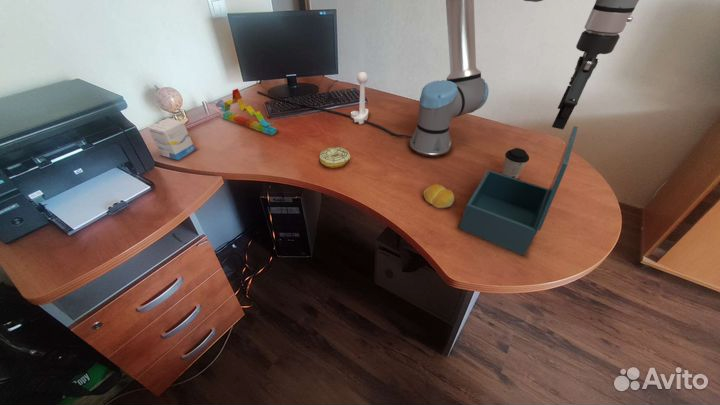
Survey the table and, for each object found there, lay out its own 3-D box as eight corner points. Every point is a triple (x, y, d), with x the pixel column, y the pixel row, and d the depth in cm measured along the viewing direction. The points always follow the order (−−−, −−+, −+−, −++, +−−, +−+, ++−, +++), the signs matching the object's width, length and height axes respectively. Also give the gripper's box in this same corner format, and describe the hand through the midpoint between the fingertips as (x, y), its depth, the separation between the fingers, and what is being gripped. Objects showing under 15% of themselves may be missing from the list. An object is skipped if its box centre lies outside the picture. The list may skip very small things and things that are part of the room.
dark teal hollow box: (459, 228, 80) (466, 204, 75) (480, 193, 92) (488, 169, 86) (523, 255, 73) (537, 231, 68) (537, 213, 85) (550, 189, 79)
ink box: (196, 149, 113) (184, 121, 105) (177, 160, 107) (163, 131, 99) (180, 145, 116) (167, 116, 108) (161, 155, 110) (146, 126, 102)
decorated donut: (356, 160, 106) (355, 151, 104) (334, 173, 100) (333, 164, 98) (335, 150, 111) (335, 141, 109) (314, 162, 106) (313, 153, 103)
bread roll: (442, 213, 85) (445, 203, 82) (418, 198, 90) (420, 188, 88) (459, 201, 89) (462, 190, 86) (435, 187, 94) (438, 177, 92)
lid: (562, 163, 57) (567, 164, 56) (574, 126, 68) (578, 126, 68) (536, 229, 67) (540, 230, 67) (549, 187, 79) (553, 188, 78)
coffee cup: (517, 187, 94) (529, 160, 87) (494, 180, 97) (504, 154, 90) (521, 176, 98) (532, 150, 92) (499, 170, 101) (509, 144, 95)
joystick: (363, 124, 128) (363, 76, 114) (347, 122, 129) (345, 75, 116) (370, 113, 136) (371, 68, 122) (354, 111, 137) (353, 66, 124)
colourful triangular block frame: (277, 132, 123) (269, 96, 113) (271, 135, 121) (263, 99, 111) (229, 115, 135) (218, 82, 125) (223, 118, 133) (212, 84, 123)
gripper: (622, 46, 59) (571, 140, 73) (620, 23, 74) (578, 105, 88) (579, 41, 62) (538, 133, 76) (585, 20, 77) (551, 99, 91)
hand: (560, 118), depth 82 cm, fingers open, 13 cm apart
